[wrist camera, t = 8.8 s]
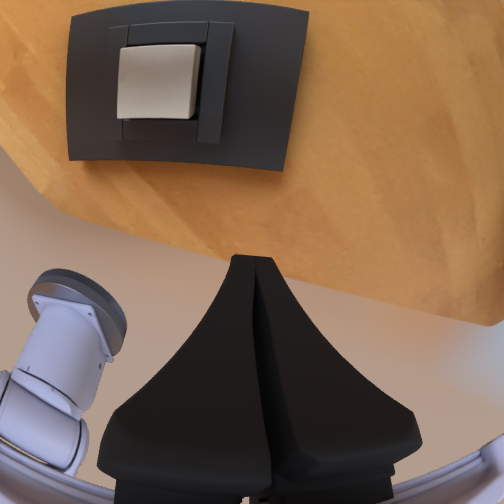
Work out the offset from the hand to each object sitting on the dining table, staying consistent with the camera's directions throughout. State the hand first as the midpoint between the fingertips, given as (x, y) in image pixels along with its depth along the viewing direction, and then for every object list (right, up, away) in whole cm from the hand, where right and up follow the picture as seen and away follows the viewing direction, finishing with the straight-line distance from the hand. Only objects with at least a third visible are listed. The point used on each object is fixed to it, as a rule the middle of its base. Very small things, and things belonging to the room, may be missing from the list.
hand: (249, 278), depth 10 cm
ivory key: (-4, +10, +2) cm, 11 cm away
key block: (-4, +11, +5) cm, 13 cm away
